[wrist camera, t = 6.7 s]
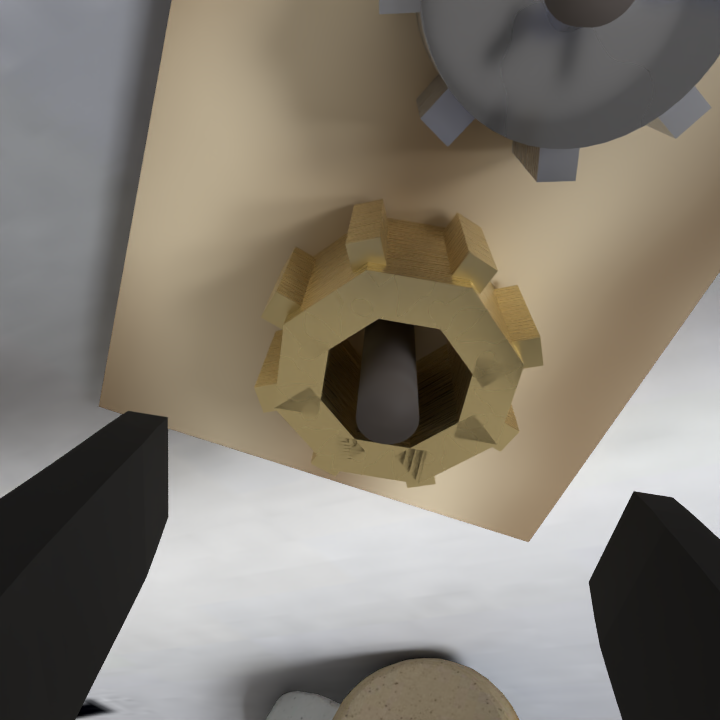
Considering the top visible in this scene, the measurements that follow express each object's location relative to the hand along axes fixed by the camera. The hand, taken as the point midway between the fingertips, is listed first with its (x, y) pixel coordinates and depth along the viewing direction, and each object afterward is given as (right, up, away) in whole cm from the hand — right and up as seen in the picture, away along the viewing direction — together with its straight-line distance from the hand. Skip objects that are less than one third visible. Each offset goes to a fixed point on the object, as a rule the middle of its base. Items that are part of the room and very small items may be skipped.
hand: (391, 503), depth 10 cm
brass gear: (0, +3, +5) cm, 6 cm away
